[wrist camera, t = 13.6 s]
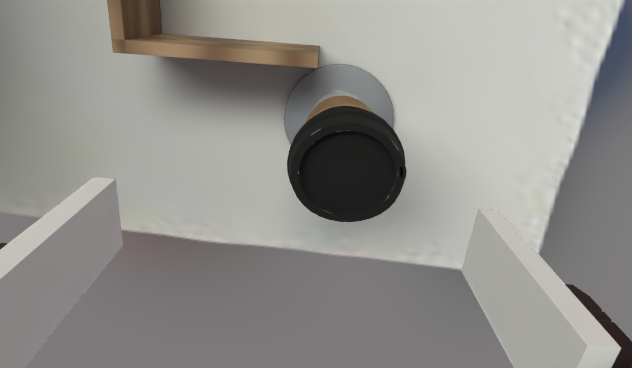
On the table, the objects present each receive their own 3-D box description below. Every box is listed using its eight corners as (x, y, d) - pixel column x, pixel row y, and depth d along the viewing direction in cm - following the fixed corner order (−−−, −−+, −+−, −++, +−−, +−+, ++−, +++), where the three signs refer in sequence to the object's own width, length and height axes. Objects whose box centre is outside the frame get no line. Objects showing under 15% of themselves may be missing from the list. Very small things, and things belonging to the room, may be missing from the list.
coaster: (282, 166, 44) (282, 168, 44) (287, 59, 40) (286, 60, 40) (384, 173, 44) (385, 175, 44) (400, 68, 40) (401, 69, 40)
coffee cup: (383, 156, 43) (411, 226, 29) (302, 163, 44) (292, 236, 30) (379, 73, 40) (409, 109, 26) (292, 82, 40) (276, 122, 26)
